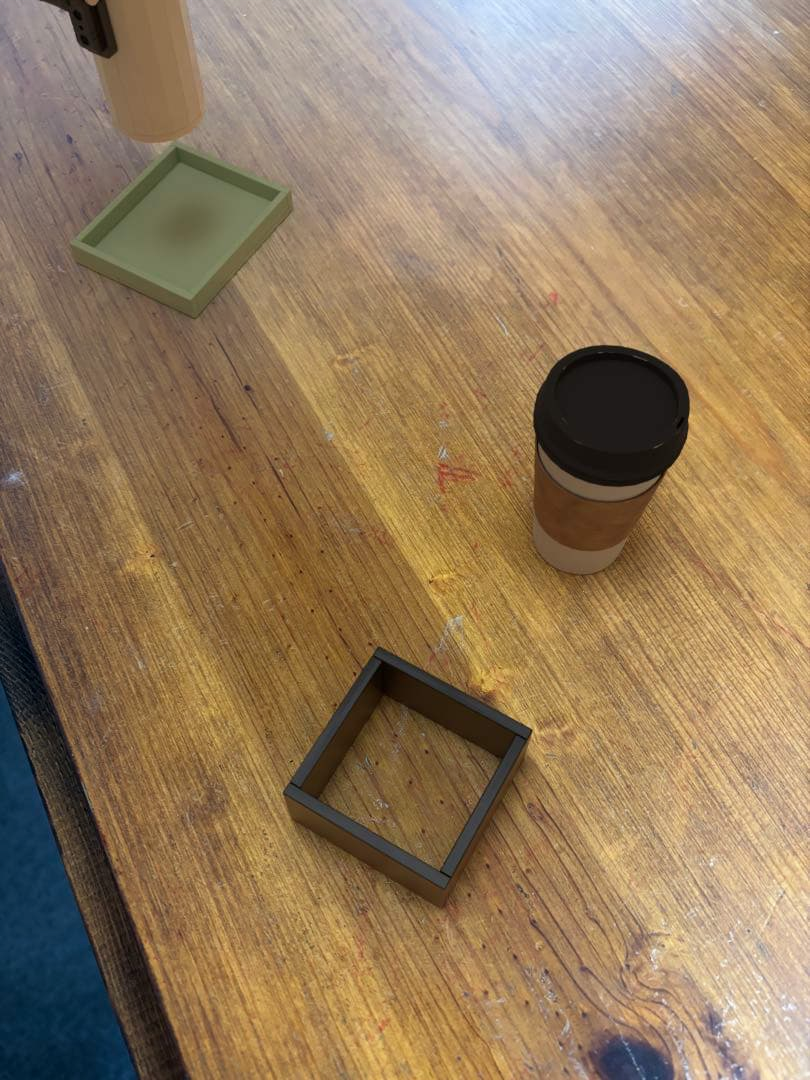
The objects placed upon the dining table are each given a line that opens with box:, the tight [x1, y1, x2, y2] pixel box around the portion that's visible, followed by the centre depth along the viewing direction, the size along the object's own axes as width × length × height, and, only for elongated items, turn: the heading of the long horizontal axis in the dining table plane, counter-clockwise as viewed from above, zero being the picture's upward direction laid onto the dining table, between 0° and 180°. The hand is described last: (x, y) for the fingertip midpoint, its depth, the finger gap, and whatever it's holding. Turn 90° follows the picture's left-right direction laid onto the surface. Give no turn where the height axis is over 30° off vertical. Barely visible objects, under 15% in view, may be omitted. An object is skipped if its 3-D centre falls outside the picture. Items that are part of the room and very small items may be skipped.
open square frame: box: [282, 645, 534, 910], centre depth 59 cm, size 10×10×5 cm
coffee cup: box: [531, 344, 691, 576], centre depth 63 cm, size 8×8×15 cm
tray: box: [69, 139, 294, 319], centre depth 82 cm, size 13×11×2 cm
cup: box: [91, 0, 207, 144], centre depth 68 cm, size 6×6×11 cm
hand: (136, 20), depth 67 cm, fingers closed on cup, 6 cm apart
